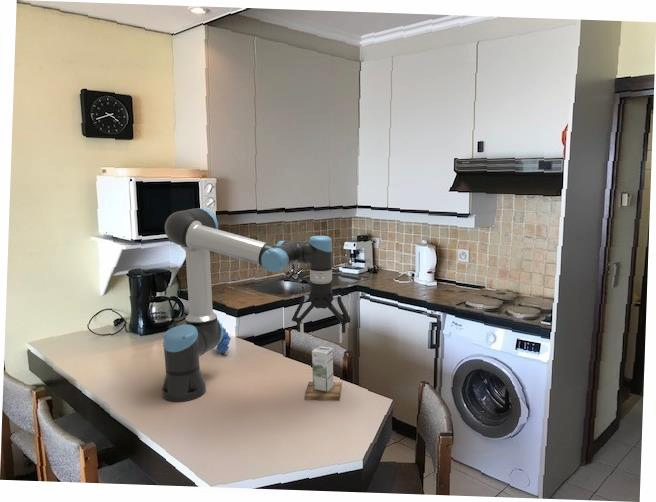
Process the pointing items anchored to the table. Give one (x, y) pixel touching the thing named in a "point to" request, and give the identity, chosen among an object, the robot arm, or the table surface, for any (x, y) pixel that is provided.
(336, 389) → the square wooden board
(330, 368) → the syrup box
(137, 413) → the table surface
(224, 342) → the grapes
